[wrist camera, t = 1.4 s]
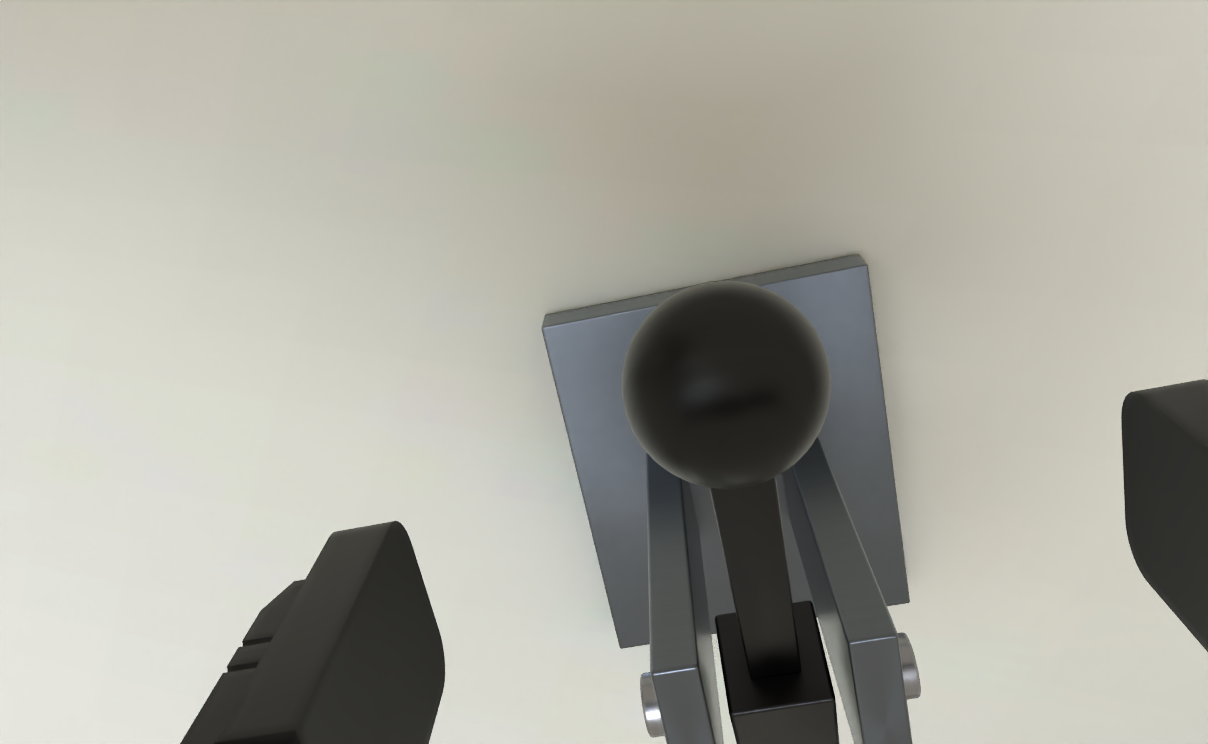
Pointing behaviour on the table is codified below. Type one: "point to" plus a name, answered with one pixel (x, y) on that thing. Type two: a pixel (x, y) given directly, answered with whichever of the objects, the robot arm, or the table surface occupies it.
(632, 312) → the lever bracket
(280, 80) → the table surface
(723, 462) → the press lever
